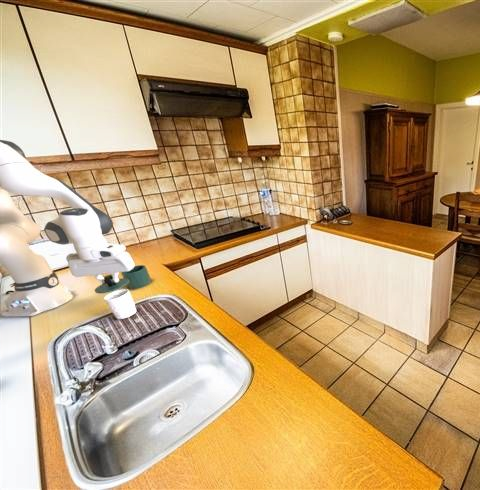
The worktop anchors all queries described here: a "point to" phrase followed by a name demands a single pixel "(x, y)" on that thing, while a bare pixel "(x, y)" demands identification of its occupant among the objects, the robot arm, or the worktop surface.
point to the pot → (137, 277)
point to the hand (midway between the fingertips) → (110, 282)
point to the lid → (111, 285)
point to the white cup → (121, 303)
